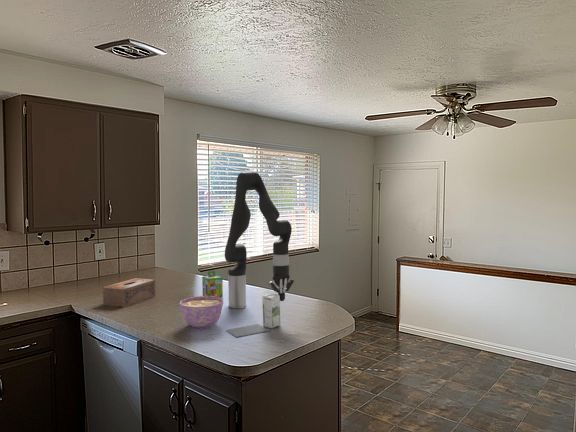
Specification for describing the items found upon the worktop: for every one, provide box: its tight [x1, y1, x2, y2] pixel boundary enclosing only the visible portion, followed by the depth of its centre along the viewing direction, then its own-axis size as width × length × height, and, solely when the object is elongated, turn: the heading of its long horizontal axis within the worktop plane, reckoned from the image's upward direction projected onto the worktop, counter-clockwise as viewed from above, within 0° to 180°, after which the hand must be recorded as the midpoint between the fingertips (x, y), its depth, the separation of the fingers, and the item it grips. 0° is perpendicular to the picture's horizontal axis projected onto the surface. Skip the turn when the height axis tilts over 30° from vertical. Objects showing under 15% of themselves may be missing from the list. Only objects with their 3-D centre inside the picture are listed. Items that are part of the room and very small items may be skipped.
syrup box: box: [261, 293, 281, 329], centre depth 208 cm, size 6×6×14 cm
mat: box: [225, 323, 270, 338], centre depth 202 cm, size 11×16×1 cm
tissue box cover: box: [102, 277, 156, 308], centre depth 258 cm, size 26×14×10 cm, turn 158°
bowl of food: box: [179, 295, 224, 330], centre depth 210 cm, size 20×20×12 cm
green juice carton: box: [201, 270, 224, 298], centre depth 265 cm, size 9×9×15 cm
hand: (281, 300), depth 211 cm, fingers closed
